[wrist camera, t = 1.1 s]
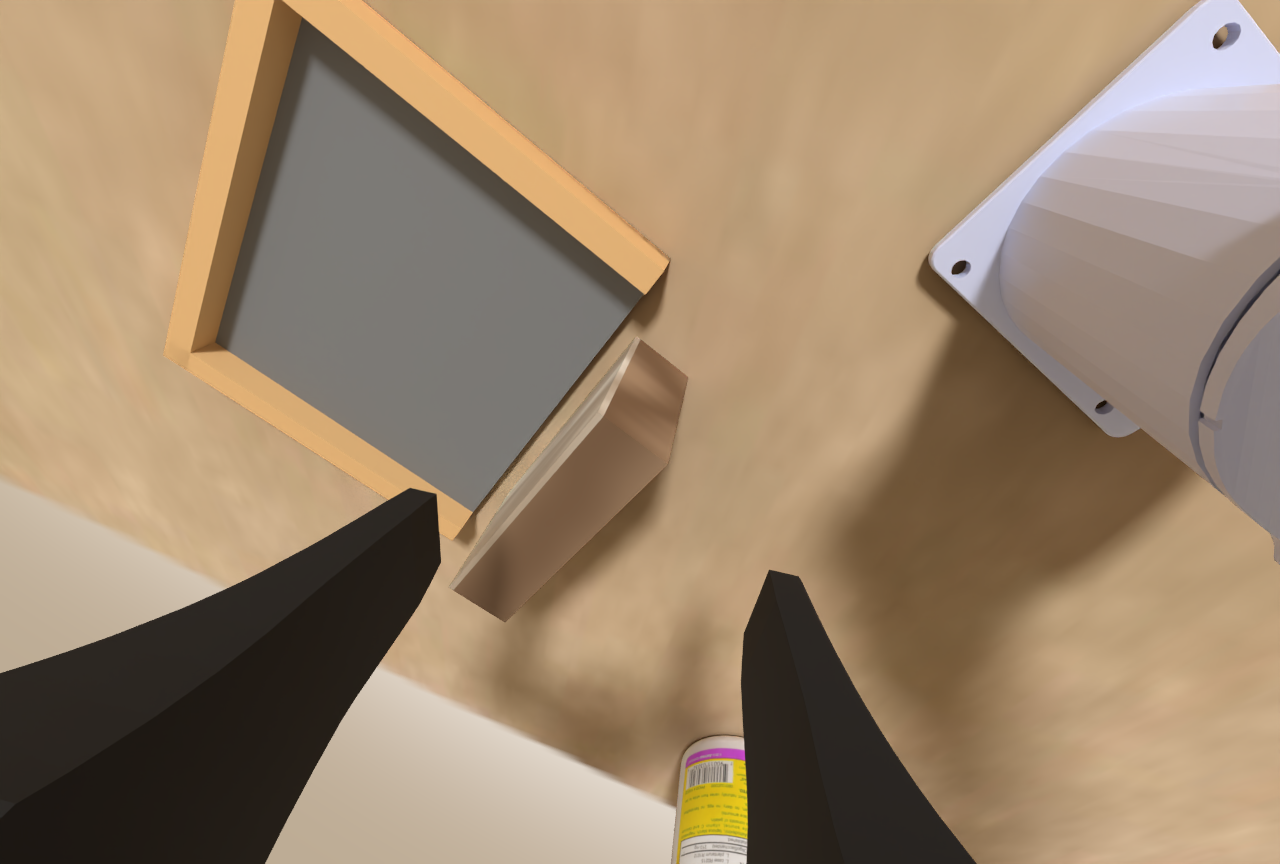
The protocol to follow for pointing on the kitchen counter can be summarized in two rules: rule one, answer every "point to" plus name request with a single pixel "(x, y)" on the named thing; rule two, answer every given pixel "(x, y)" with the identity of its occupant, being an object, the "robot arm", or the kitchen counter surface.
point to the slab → (577, 481)
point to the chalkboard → (389, 258)
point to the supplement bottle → (712, 803)
